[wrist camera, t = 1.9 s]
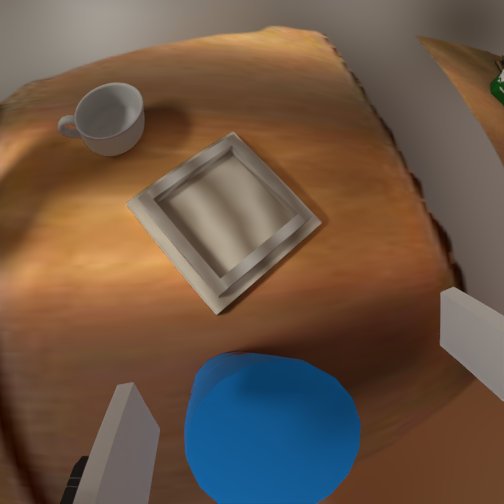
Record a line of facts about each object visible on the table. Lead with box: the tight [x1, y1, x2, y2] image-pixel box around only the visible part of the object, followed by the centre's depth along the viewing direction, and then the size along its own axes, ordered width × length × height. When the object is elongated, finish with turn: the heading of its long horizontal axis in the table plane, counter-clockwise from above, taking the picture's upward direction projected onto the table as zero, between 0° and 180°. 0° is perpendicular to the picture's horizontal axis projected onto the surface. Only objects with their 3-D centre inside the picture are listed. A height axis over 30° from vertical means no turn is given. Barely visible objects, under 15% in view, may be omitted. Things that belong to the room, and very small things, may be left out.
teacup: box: [58, 83, 145, 156], centre depth 43 cm, size 14×11×8 cm
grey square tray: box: [126, 131, 322, 315], centre depth 45 cm, size 20×20×4 cm
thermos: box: [185, 351, 360, 504], centre depth 28 cm, size 11×11×25 cm
